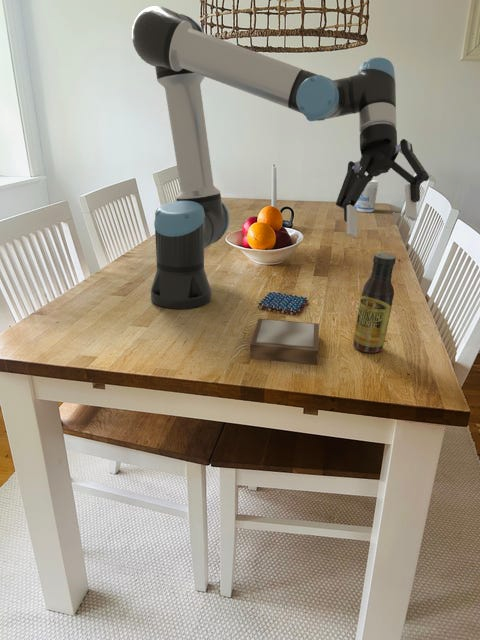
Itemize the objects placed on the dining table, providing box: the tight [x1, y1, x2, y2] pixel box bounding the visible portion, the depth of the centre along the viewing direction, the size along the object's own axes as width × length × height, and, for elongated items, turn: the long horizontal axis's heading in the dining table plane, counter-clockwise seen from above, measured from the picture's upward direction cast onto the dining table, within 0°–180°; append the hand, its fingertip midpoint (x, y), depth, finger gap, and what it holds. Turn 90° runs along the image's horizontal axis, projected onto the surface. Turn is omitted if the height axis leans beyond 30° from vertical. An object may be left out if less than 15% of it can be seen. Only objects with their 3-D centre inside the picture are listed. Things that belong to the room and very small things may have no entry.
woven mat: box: [257, 291, 309, 316], centre depth 122 cm, size 10×11×2 cm
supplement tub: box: [354, 179, 379, 213], centre depth 238 cm, size 10×10×15 cm
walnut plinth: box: [249, 318, 320, 366], centre depth 100 cm, size 13×13×3 cm
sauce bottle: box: [353, 252, 397, 354], centre depth 97 cm, size 7×6×20 cm
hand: (380, 227), depth 99 cm, fingers open, 13 cm apart
